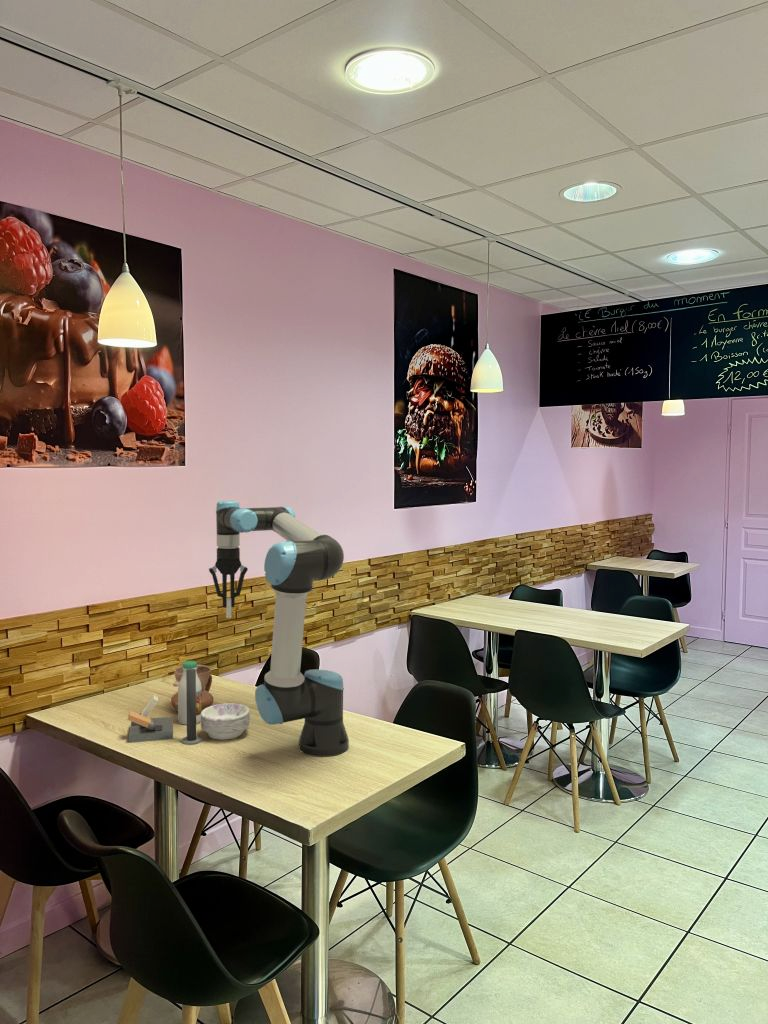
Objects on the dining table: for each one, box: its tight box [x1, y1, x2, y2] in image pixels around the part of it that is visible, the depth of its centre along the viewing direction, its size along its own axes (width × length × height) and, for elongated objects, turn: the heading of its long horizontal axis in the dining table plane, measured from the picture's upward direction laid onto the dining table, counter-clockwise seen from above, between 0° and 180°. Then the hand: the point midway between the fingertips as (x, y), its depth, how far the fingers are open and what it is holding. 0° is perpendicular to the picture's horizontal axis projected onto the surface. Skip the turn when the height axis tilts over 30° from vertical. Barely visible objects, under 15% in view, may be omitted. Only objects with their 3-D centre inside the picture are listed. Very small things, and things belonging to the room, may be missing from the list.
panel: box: [128, 716, 174, 743], centre depth 241 cm, size 14×13×3 cm
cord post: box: [181, 669, 203, 746], centre depth 233 cm, size 6×6×22 cm
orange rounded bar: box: [127, 710, 155, 730], centre depth 237 cm, size 5×2×8 cm
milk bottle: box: [177, 660, 203, 726], centre depth 251 cm, size 8×8×20 cm
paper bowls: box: [200, 702, 251, 741], centre depth 239 cm, size 15×15×8 cm
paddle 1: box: [139, 694, 159, 718], centre depth 244 cm, size 5×2×8 cm
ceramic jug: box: [170, 664, 215, 711], centre depth 265 cm, size 18×14×14 cm
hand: (228, 617), depth 254 cm, fingers closed
